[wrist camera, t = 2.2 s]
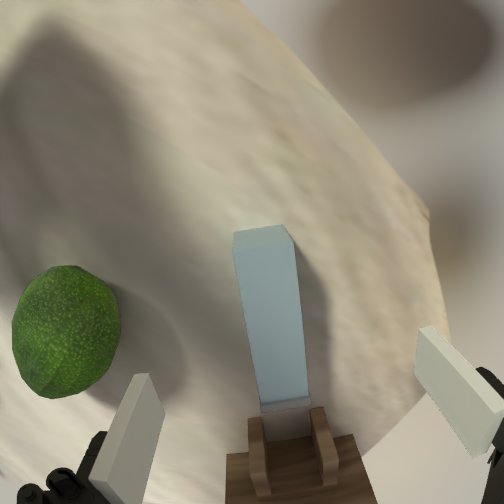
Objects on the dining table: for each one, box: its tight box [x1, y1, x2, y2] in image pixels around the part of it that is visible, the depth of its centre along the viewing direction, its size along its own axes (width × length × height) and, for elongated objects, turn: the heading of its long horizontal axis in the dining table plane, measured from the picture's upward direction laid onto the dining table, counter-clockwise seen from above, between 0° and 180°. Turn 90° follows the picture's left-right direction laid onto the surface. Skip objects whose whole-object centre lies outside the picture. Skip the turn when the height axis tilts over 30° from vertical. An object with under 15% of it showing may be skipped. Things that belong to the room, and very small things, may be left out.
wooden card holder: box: [225, 407, 378, 504], centre depth 28 cm, size 8×16×12 cm, turn 99°
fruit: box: [12, 266, 121, 399], centre depth 24 cm, size 15×10×10 cm, turn 138°
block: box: [232, 225, 311, 413], centre depth 25 cm, size 14×4×6 cm, turn 9°
